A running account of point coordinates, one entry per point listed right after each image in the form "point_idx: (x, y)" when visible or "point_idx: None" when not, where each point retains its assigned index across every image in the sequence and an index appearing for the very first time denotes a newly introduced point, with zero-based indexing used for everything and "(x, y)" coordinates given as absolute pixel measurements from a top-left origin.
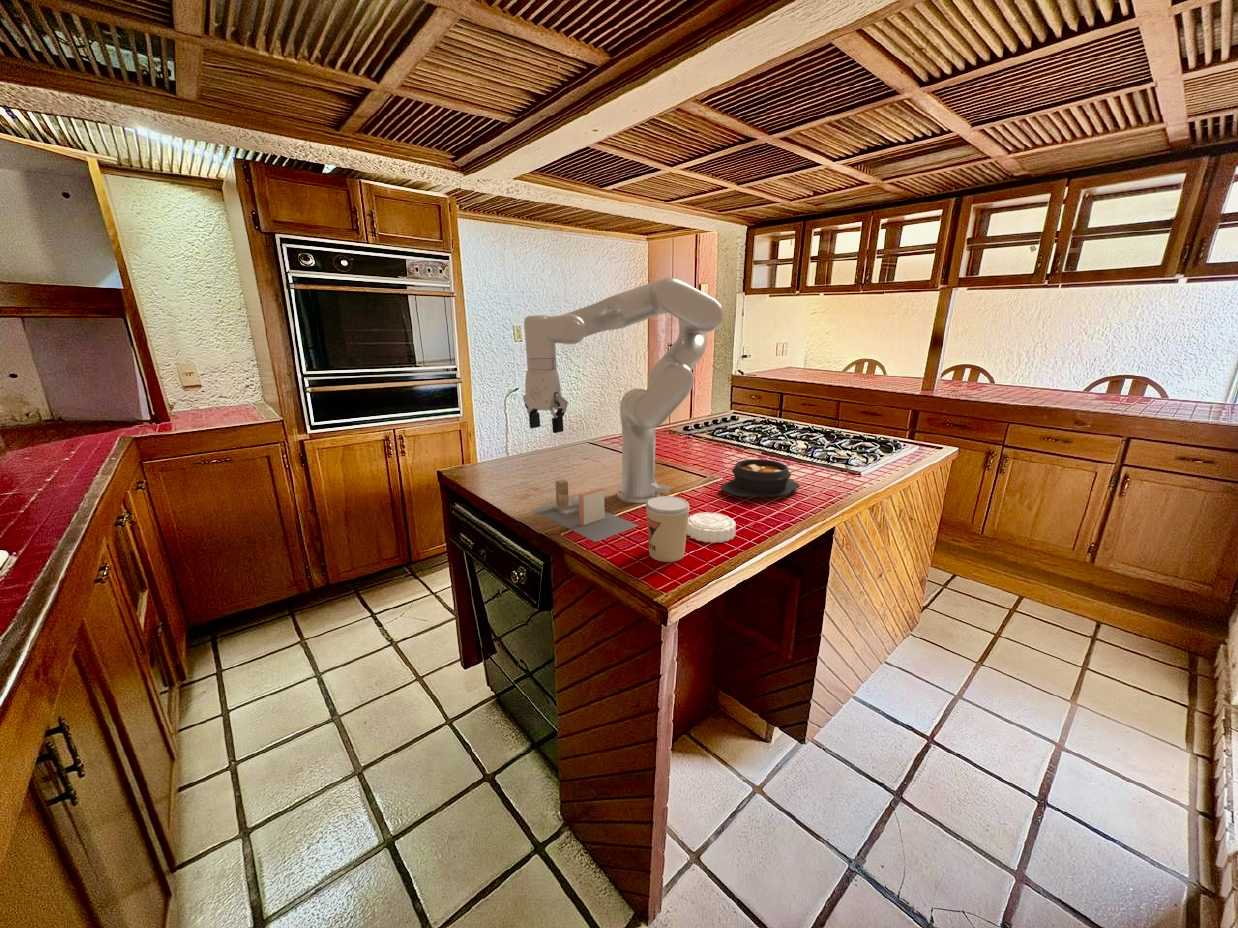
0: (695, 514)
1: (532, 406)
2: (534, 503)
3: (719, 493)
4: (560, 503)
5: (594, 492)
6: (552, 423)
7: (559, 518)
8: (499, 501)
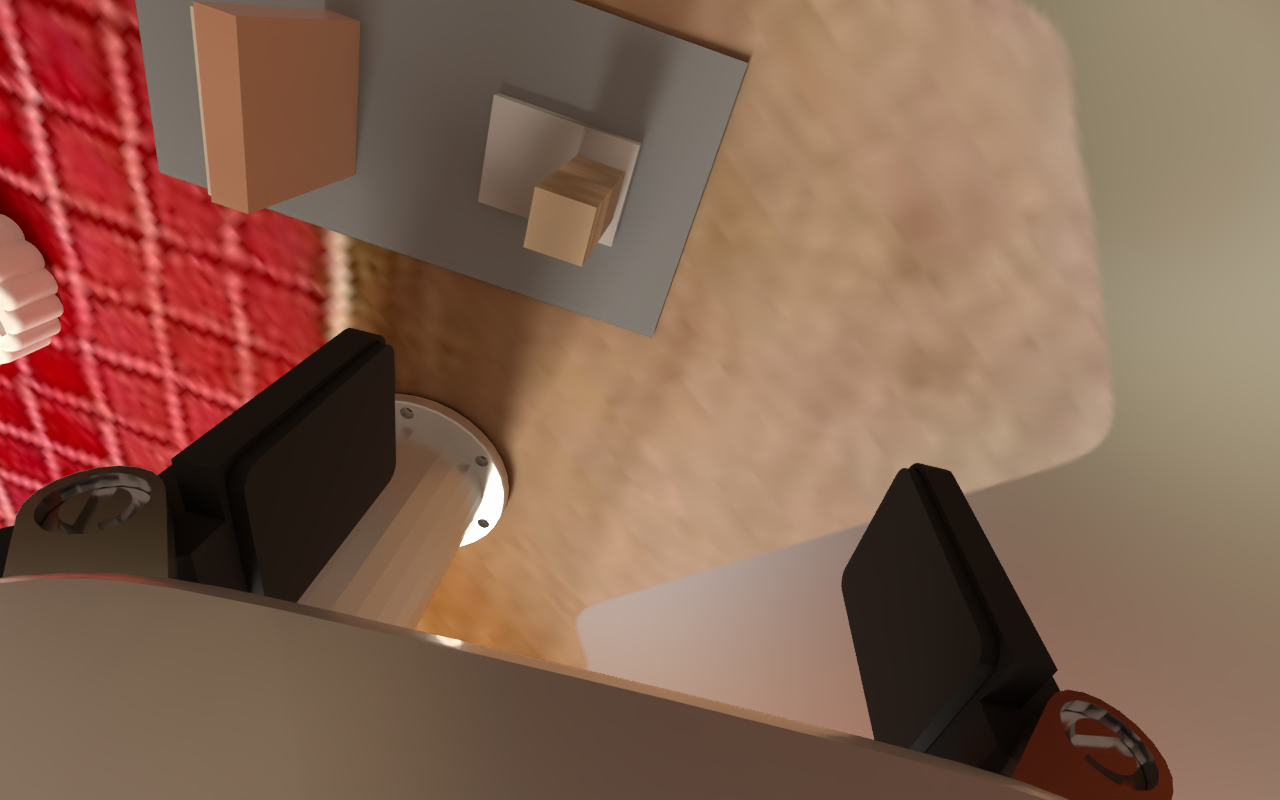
0: (6, 319)
1: (828, 789)
2: (799, 177)
3: None
4: (580, 162)
5: (203, 118)
6: (287, 404)
7: (506, 32)
8: (1050, 87)
